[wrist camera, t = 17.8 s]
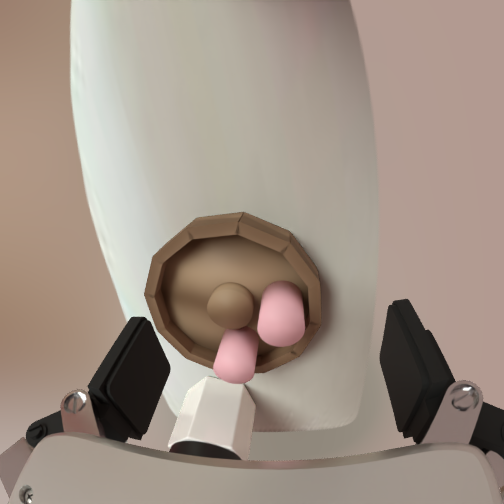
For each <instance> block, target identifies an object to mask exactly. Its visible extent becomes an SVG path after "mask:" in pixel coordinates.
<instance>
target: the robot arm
mask: <svg viewBox="0 0 504 504" xmlns="http://www.w3.org/2000/svg"><path fill="white" fill-rule="evenodd" d="M380 364H381V368H382V371H383V375H384V378H385V382H386V385H387V389H388V393H389V397H390V400H391V404H392V408H393V412H394V416H395V421H396V425H397V429H398V431H399V432H403V436H404V438H408V437H413V440H414V442H416V444H415V445H412V446H406V447H401V448H395V449H390V450H384V451H379V452H373V453H367V454H360V455H353V456H344V457H336V458H326V459H314V460H296V461H295V460H294V461H250V460H231V459H218V458H208V457H199V456H191V455H184V454H177V453H171V452H166V451H160V450H155V449H150V448H145V447H141V446H136V445H132V444H128V442H127V439H128V437H130V438H133V439H137V440H141V438H142V436H143V434H145V433H146V432H147V430H148V427H149V424H150V422H151V419H152V417H153V414H154V412H155V409H156V407H157V404H158V401H159V399H160V396H161V394H162V391H163V389H164V386H165V384H166V381H167V379H168V376H169V374H170V364H169V362H168V360H167V358H166V356H165V353H164V351H163V349H162V347H161V345H160V342H159V340H158V338H157V336H156V333H155V331H154V329H153V326H152V324H151V322H150V321H149V320H147V319H146V318H145V317H131V318H130V320H129V321H128V323H127V324H126V326H125V328H124V329H123V330H122V332H121V333H120V335H119V337H118V338H117V340H116V341H115V343H114V345H113V346H112V347H111V349H110V351H109V352H108V354H107V355H106V357H105V359H104V360H103V362H102V363H101V365H100V367H99V368H98V370H97V371H96V373H95V375H94V376H93V378H92V380H91V381H90V383H89V385H88V388H89V391H88V393H87V392H86V391H85V390H82V389H81V390H80V389H77V390H73V391H71V392H69V393H68V394H67V395H66V396H65V397H64V398H63V400H62V402H61V410H60V411H58V412H56V413H53V414H51V415H49V416H47V417H44V418H42V419H40V420H38V421H35V422H34V423H32V424H31V426H29V428H28V430H27V432H26V439H25V438H24V437H22V438H21V439H20V440H18V441H17V442H16V443H15V444H14V445H12V446H11V447H10V448H9V449H7V450H6V451H5V452H3V453H2V454H1V455H0V478H1V480H2V483H3V485H4V487H5V489H6V492H7V494H8V496H9V498H10V499H9V502H8V504H504V410H502V409H500V408H497V407H495V406H493V405H490V404H488V403H485V402H483V395H482V391H481V390H480V388H479V387H478V386H477V385H476V384H474V383H473V382H471V381H466V380H462V381H457V382H456V381H455V379H454V377H453V375H452V373H451V370H450V369H449V366H448V364H447V362H446V360H445V358H444V356H443V354H442V352H441V350H440V348H439V346H438V344H437V342H436V340H435V338H434V337H433V335H432V333H431V332H430V331H429V330H425V328H424V327H423V325H422V323H421V321H420V319H419V318H418V315H417V314H416V312H415V310H414V308H413V306H412V305H411V303H410V301H409V300H408V299H403V300H396V301H393V303H392V305H389V307H388V311H387V318H386V324H385V330H384V336H383V341H382V346H381V351H380ZM499 487H500V489H499ZM500 492H501V493H500Z"/></svg>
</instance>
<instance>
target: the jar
mask: <svg viewBox="0 0 504 504" xmlns="http://www.w3.org/2000/svg"><path fill="white" fill-rule="evenodd" d="M255 409H256V405H255V403H254V401H253V400H252V398H251V396H250V394H249V393H248V391H247V389H246V387H245V386H244V384H232V383H228V382H225V381H223V380H222V379H218V378H214V377H210V376H207V377H205V378H204V379H203V380H201V381H200V382H198V383H197V384H196V385H194V386H193V387H192V388H190V389H189V390H188V392H187V394H186V397H185V400H184V402H183V405H182V408H181V411H180V413H179V416H178V419H177V421H176V424H175V427H174V430H173V433H172V435H171V438H170V441H169V444H168V447H169V448H170V451H169V452H171V453H177V454H184V455H191V456H199V457H208V458H218V459H231V460H248V456H249V450H250V444H251V437H252V430H253V423H254V416H255Z"/></svg>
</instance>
